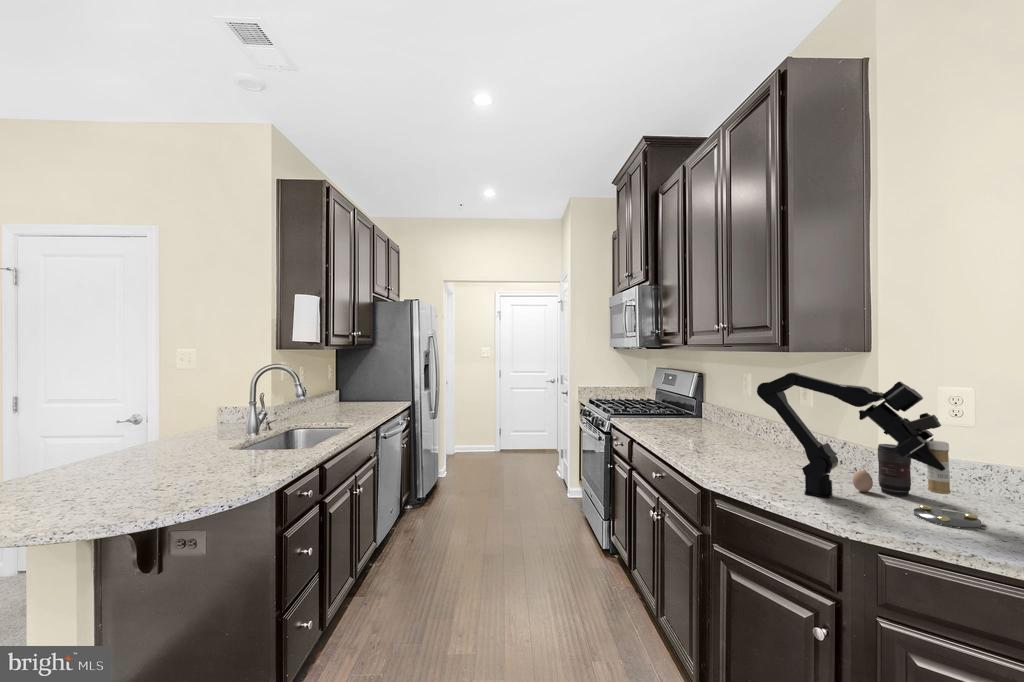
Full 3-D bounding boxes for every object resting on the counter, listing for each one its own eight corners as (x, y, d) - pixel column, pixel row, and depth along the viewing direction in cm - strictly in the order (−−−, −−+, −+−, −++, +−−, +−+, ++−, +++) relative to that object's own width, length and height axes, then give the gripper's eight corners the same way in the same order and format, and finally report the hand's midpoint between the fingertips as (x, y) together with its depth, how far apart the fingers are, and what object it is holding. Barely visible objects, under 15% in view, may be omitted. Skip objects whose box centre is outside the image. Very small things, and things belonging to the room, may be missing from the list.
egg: (864, 489, 148) (863, 468, 148) (877, 494, 143) (876, 472, 143) (848, 489, 148) (848, 468, 148) (861, 494, 143) (860, 472, 143)
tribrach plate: (915, 521, 120) (915, 514, 120) (912, 507, 130) (912, 501, 130) (985, 533, 112) (985, 525, 112) (976, 518, 122) (976, 511, 122)
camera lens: (918, 498, 139) (917, 448, 139) (888, 496, 140) (886, 447, 141) (901, 490, 147) (900, 443, 147) (873, 488, 148) (871, 442, 149)
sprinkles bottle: (948, 491, 122) (947, 441, 123) (952, 495, 118) (950, 443, 119) (926, 488, 125) (924, 439, 125) (928, 492, 121) (927, 442, 121)
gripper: (910, 406, 119) (971, 455, 111) (922, 401, 131) (978, 445, 123) (873, 432, 125) (928, 481, 116) (888, 425, 137) (939, 469, 128)
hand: (945, 468), depth 121 cm, fingers closed on sprinkles bottle, 4 cm apart
